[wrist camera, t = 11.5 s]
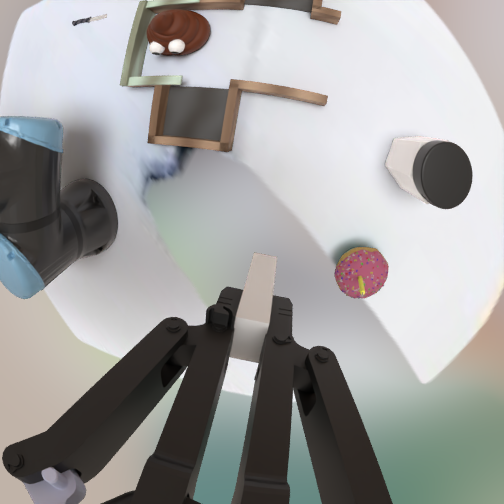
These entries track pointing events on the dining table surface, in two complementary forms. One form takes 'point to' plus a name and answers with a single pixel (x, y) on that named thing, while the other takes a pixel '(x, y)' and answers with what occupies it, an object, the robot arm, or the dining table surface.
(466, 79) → the dining table surface
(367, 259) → the cupcake
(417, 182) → the jar
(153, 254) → the dining table surface
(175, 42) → the poop emoji
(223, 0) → the box
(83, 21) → the knife
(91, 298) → the dining table surface
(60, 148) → the robot arm
